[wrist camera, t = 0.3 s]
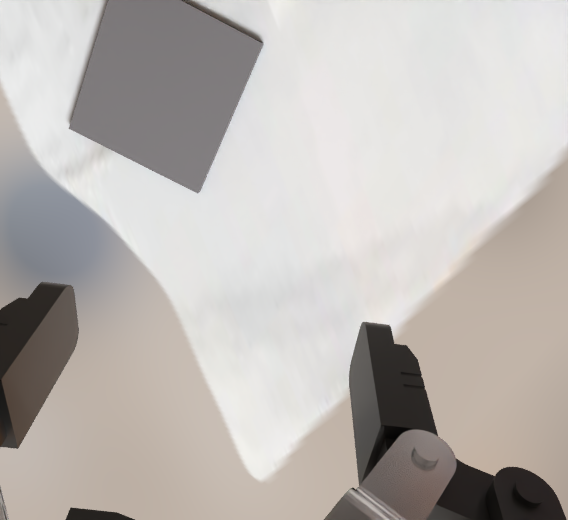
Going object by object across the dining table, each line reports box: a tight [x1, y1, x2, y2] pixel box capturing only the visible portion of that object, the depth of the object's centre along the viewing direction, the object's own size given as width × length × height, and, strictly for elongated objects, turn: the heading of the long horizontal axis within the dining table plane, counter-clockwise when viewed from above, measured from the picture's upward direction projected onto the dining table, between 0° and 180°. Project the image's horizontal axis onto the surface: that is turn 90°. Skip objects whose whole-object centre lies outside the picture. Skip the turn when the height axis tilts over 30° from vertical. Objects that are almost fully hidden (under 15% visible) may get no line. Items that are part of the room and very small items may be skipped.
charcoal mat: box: [69, 0, 263, 193], centre depth 37 cm, size 12×11×1 cm
